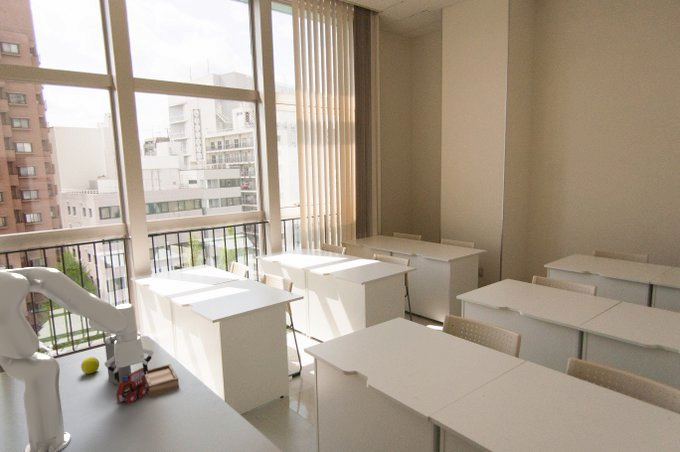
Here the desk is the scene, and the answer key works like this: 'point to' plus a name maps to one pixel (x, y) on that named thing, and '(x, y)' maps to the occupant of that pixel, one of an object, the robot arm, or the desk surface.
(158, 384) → the wooden tray
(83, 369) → the tennis ball
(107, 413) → the desk surface
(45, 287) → the robot arm
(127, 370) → the flask
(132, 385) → the toy fire truck
